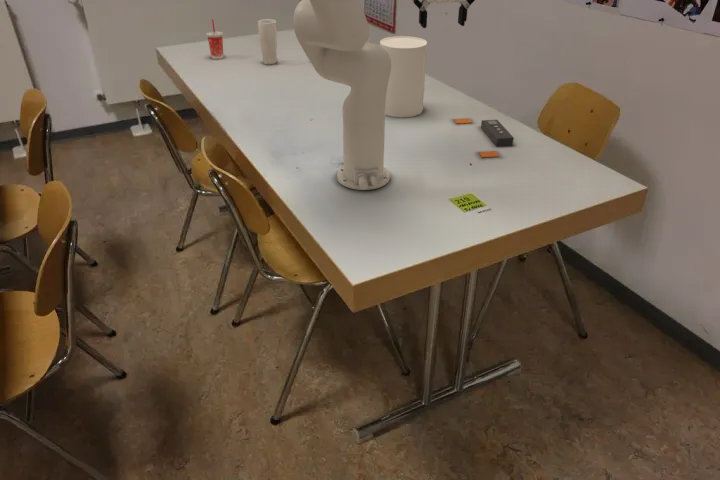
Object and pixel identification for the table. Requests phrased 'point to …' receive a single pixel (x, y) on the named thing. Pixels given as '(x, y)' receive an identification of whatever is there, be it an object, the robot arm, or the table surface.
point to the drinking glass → (268, 40)
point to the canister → (405, 75)
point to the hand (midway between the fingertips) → (442, 25)
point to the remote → (497, 132)
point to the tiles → (482, 154)
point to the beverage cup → (215, 43)
